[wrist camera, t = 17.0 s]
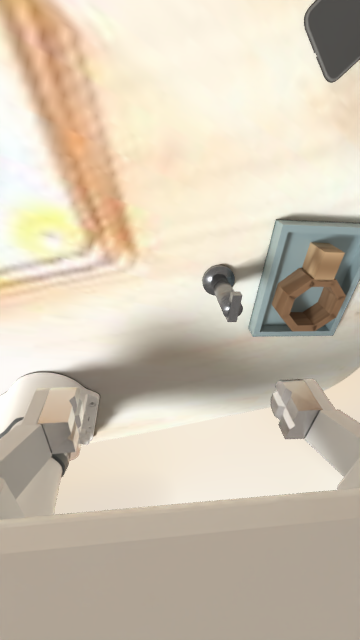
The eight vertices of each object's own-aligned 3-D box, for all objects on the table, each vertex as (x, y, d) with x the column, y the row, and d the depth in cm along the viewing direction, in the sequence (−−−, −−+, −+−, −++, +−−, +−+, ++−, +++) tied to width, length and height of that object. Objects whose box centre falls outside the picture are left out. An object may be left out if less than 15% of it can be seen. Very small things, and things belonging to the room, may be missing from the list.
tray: (325, 327, 52) (333, 335, 50) (248, 328, 50) (252, 336, 48) (371, 223, 41) (383, 228, 39) (275, 219, 39) (283, 224, 37)
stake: (230, 293, 46) (248, 327, 38) (200, 293, 45) (212, 328, 37) (236, 265, 43) (256, 295, 35) (204, 264, 42) (217, 295, 34)
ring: (317, 317, 50) (330, 331, 46) (267, 317, 48) (276, 331, 45) (348, 243, 42) (366, 253, 39) (290, 241, 41) (302, 251, 38)
